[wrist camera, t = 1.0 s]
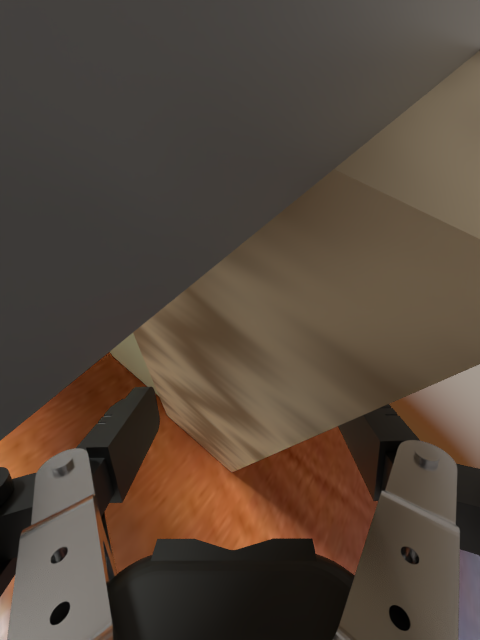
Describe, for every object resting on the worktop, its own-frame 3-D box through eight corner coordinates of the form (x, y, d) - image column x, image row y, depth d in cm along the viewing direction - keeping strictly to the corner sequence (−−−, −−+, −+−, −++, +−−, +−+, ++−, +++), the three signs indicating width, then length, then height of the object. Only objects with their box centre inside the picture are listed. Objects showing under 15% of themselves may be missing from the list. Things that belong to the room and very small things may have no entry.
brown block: (166, 415, 31) (-2, 7, 5) (243, 330, 39) (340, 4, 13) (231, 472, 29) (615, 304, 2) (298, 369, 37) (555, 71, 11)
